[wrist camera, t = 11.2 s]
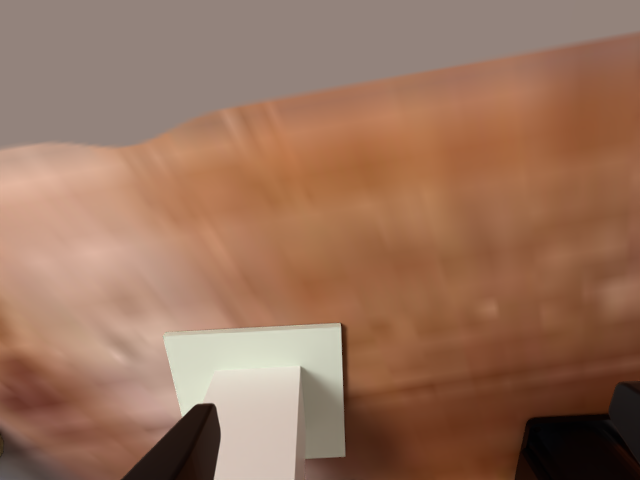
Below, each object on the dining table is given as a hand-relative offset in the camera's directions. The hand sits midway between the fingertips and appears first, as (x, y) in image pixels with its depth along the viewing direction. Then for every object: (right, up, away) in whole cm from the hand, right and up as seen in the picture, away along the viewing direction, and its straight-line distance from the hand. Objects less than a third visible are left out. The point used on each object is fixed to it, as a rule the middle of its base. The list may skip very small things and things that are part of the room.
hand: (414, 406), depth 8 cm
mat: (-6, -6, +14) cm, 16 cm away
